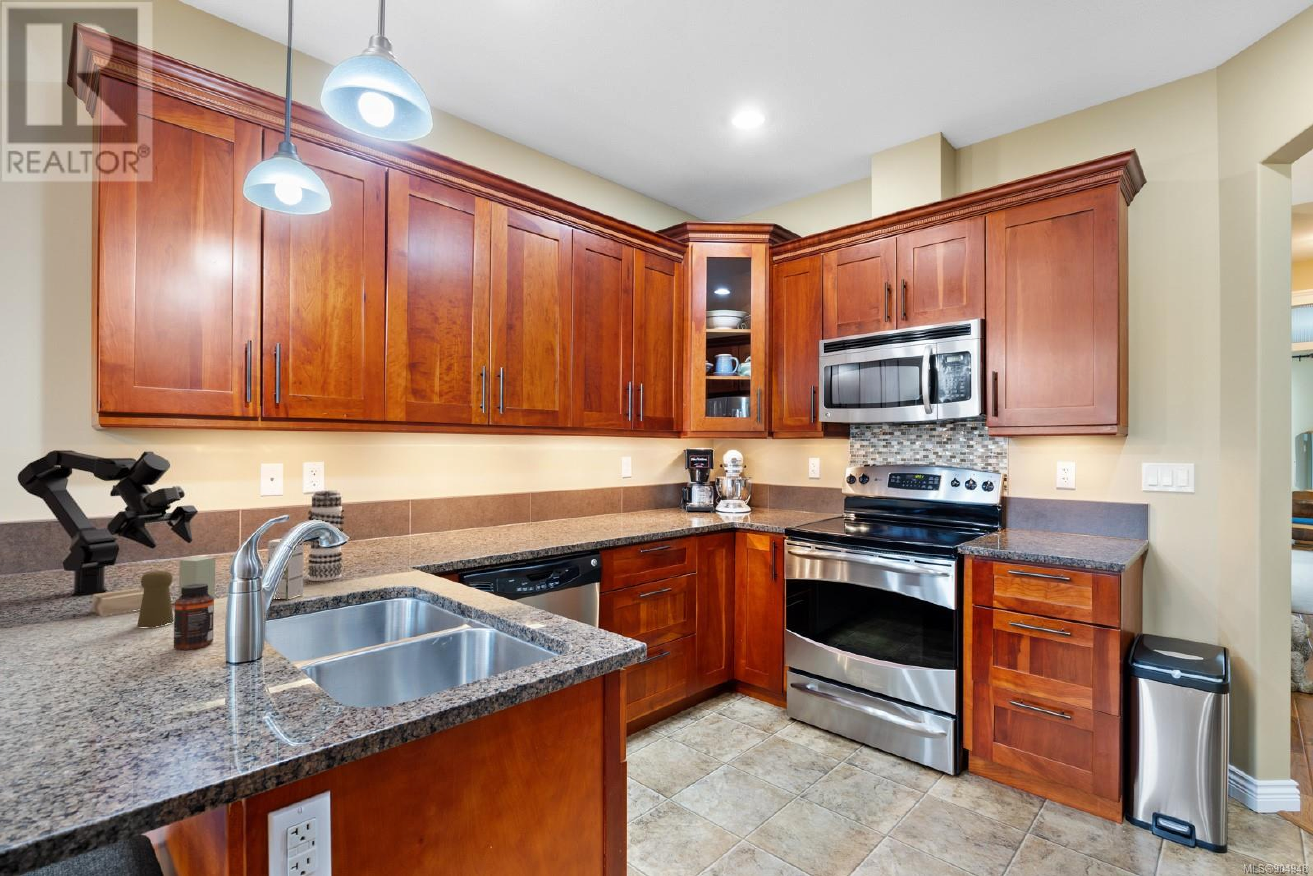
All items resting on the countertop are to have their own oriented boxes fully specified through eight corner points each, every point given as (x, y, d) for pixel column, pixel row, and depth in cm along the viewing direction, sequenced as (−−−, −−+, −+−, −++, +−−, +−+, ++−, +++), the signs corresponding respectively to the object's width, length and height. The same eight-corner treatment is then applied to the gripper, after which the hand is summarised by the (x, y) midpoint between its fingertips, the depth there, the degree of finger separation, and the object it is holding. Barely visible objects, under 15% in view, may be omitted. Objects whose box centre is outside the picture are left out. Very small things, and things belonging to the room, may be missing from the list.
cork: (180, 622, 130) (181, 570, 130) (146, 630, 125) (148, 575, 125) (164, 619, 133) (165, 568, 133) (130, 626, 127) (132, 572, 127)
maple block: (92, 612, 139) (93, 594, 139) (137, 605, 145) (137, 588, 145) (102, 618, 134) (103, 599, 134) (148, 610, 141) (149, 593, 141)
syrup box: (303, 595, 155) (305, 537, 156) (287, 600, 150) (288, 541, 150) (282, 594, 156) (284, 537, 156) (265, 600, 150) (267, 540, 150)
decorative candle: (308, 576, 179) (310, 490, 180) (343, 573, 183) (345, 489, 183) (305, 582, 171) (306, 492, 171) (342, 579, 175) (344, 491, 175)
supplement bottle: (220, 643, 116) (222, 583, 117) (187, 653, 111) (189, 590, 111) (198, 639, 118) (200, 581, 119) (165, 649, 113) (167, 587, 113)
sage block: (178, 601, 148) (179, 560, 148) (197, 597, 153) (198, 556, 153) (195, 603, 147) (196, 561, 147) (214, 598, 152) (215, 557, 152)
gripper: (119, 477, 144) (155, 527, 142) (193, 474, 162) (226, 518, 160) (90, 509, 145) (126, 559, 143) (167, 503, 164) (200, 547, 161)
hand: (173, 544), depth 152 cm, fingers open, 9 cm apart
